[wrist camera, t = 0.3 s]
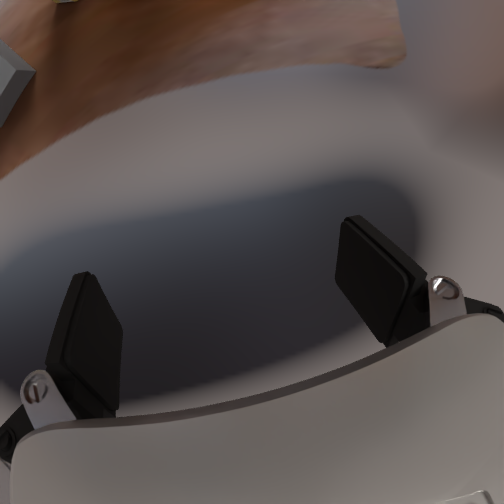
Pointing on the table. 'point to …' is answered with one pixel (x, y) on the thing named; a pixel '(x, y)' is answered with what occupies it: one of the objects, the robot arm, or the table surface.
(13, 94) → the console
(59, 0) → the candy box
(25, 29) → the table surface
